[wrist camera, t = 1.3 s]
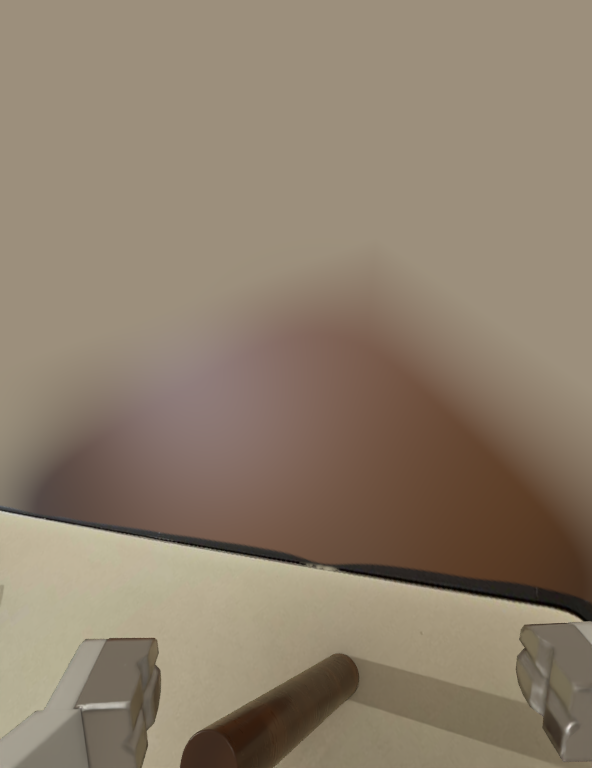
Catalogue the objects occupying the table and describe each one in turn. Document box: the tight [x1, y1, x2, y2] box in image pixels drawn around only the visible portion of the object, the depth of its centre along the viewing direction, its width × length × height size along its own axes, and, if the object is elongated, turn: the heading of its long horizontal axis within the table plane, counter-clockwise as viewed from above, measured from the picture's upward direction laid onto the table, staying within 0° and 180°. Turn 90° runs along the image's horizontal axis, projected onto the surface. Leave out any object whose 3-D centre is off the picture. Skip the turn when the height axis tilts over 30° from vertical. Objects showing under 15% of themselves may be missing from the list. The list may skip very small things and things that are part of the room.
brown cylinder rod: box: [180, 654, 359, 768], centre depth 28 cm, size 3×3×20 cm
